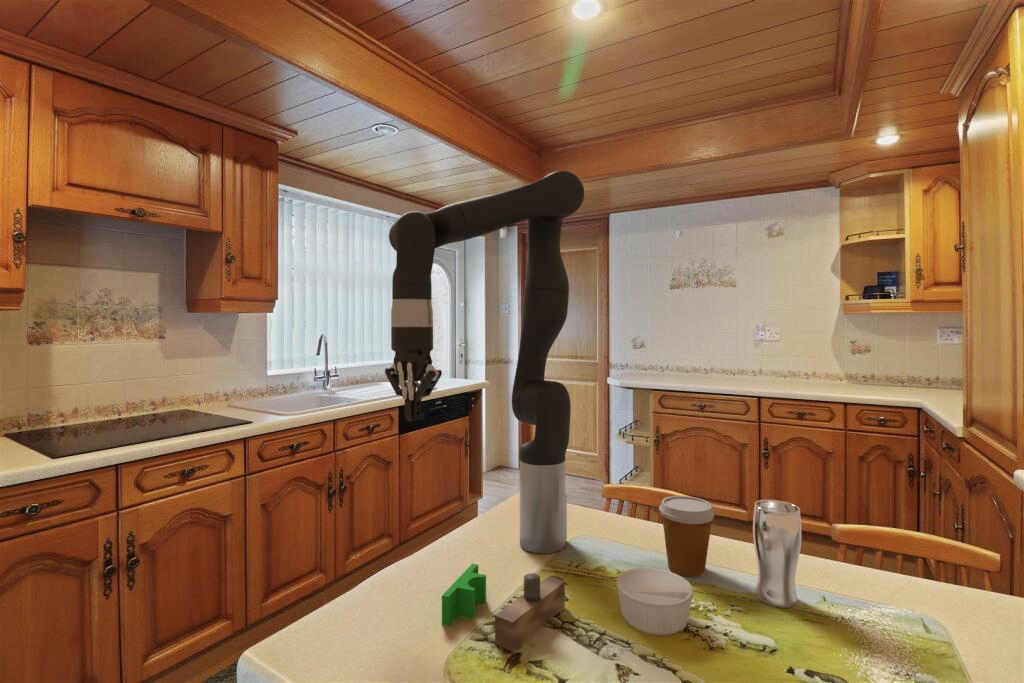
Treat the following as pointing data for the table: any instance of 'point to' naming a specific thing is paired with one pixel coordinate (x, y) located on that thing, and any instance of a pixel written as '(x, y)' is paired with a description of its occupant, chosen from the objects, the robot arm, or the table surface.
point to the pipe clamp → (464, 595)
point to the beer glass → (777, 551)
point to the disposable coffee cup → (686, 533)
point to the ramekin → (654, 600)
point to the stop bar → (529, 611)
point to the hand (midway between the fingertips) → (412, 420)
